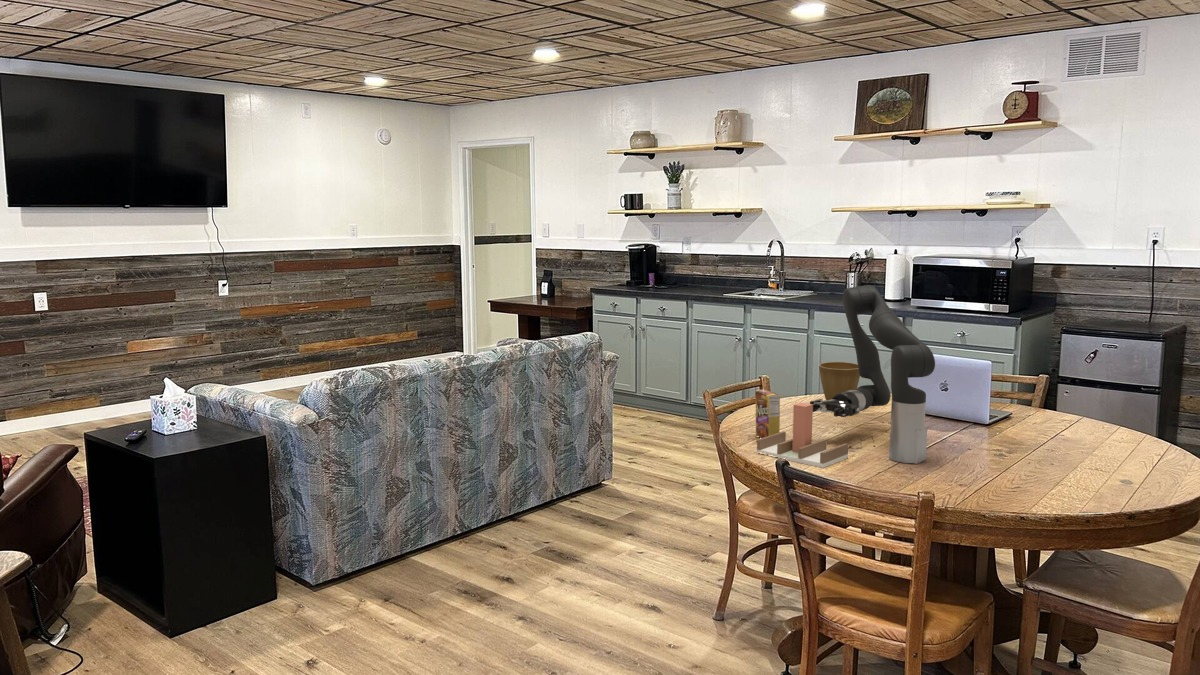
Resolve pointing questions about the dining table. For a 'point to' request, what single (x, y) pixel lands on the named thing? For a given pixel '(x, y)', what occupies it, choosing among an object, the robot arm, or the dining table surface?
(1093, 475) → the dining table surface
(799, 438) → the slim block
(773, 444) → the comb rack
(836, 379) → the plant pot
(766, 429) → the candy box
